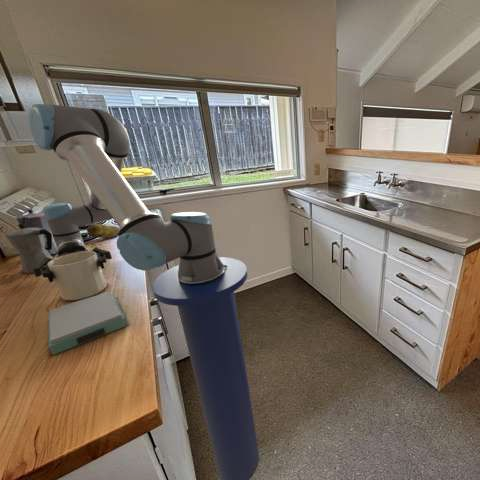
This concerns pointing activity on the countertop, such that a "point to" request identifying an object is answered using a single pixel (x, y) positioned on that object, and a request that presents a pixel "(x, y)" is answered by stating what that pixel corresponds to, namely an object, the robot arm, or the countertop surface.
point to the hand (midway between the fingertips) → (77, 271)
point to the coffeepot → (30, 246)
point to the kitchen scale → (83, 321)
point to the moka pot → (37, 226)
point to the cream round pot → (77, 275)
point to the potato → (102, 231)
